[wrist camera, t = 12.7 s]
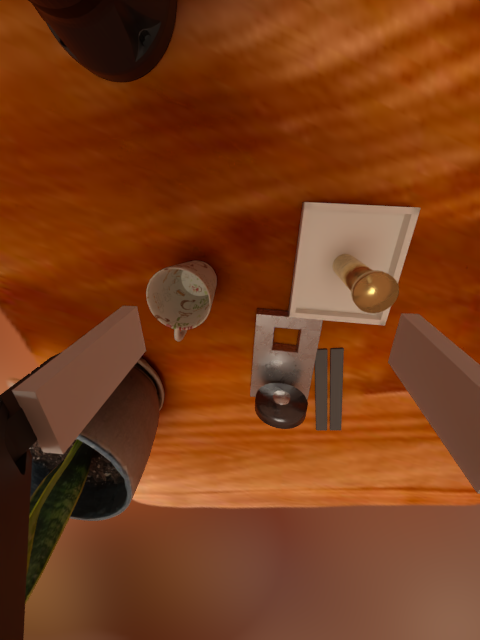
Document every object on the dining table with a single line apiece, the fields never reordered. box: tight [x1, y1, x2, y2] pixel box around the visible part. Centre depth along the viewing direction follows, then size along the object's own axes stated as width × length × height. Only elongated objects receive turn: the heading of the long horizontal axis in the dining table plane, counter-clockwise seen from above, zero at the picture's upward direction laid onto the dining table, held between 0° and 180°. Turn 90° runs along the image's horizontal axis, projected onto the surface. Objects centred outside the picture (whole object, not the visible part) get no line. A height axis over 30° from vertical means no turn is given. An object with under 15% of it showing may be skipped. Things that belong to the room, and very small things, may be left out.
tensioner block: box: [250, 308, 323, 429], centre depth 41 cm, size 16×10×11 cm, turn 177°
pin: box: [333, 254, 399, 313], centre depth 32 cm, size 4×4×13 cm
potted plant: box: [25, 358, 164, 604], centre depth 35 cm, size 21×22×40 cm
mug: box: [146, 261, 217, 341], centre depth 38 cm, size 8×13×10 cm, turn 169°
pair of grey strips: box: [315, 348, 344, 430], centre depth 48 cm, size 18×5×1 cm, turn 7°
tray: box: [289, 202, 420, 325], centre depth 37 cm, size 16×14×2 cm
